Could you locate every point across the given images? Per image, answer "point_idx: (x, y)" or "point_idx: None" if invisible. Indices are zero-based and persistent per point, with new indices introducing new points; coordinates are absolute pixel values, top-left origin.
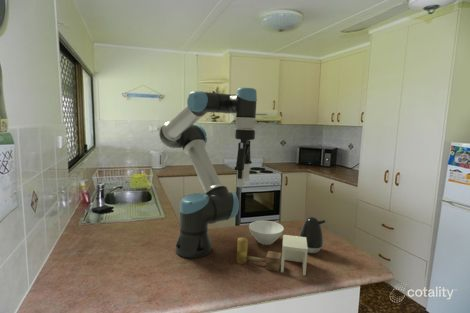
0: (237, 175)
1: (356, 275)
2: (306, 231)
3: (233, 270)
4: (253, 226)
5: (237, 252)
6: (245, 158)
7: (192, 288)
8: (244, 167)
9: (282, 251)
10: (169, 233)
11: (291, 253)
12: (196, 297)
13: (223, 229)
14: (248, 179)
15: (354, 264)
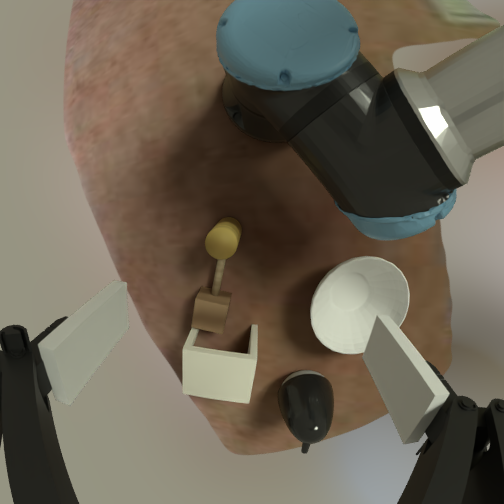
0: (70, 324)
1: (215, 424)
2: (292, 407)
3: (182, 212)
4: (389, 267)
5: (219, 222)
6: (423, 472)
7: (109, 140)
8: (411, 386)
9: (186, 342)
10: (359, 27)
11: (248, 352)
12: (87, 156)
13: None
14: (364, 356)
15: (253, 431)
